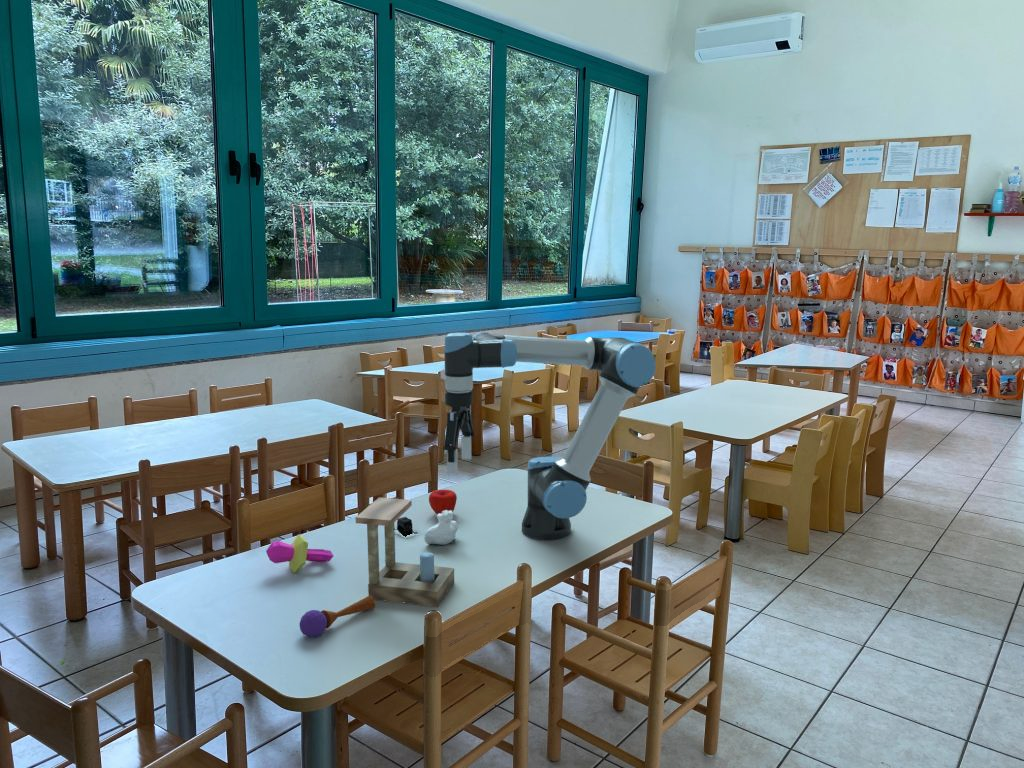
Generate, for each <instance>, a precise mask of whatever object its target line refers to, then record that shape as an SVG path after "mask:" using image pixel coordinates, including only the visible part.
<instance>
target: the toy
mask: <svg viewBox="0 0 1024 768" xmlns="http://www.w3.org/2000/svg"><path fill="white" fill-rule="evenodd" d="M295 537H296V538H294V540H293V541H292V543H291V544H289V543H286V542H283V541H280V540H276V541H273V542H271V543H270V545H269V546H268V548H267V549H266V550H265V552H266V554H267V555H266V556H267V557H268V559H269V561H270V562H272V563H273V564H280V563H281V564H282V563H286V562H287V563H288V567H289V566H290V567H289V568H290V569H291V571H292V572H293V574H297V573H300V571H301V570H302V569H303V568H304V566H305V565H306V563H307V562H313V563H314V562H315V563H326V562H330V561H331V560H332V558H333V557H334V554H333V553H332V551H331V550H328V549H325V548H324V549H322V548H320V549H319V548H309V547H308V546H309V542H308V541H307V540H306V538H305V537H304V536H303V535H302V534H301V535H300V534H297V536H295Z"/></svg>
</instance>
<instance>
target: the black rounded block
mask: <svg viewBox="0 0 1024 768" xmlns="http://www.w3.org/2000/svg"><path fill="white" fill-rule="evenodd" d="M396 528H397V529H395V531H397V532H399V533H401V534H402V535H403V536H405V537H406V536H407V535H410V534H413V533H414V534H417V533H416V532H417V531H416V532H414V531H415V530H414V529H413V521H412V519H410V518H408V517H407V516H404V517H399V518H398V519H397V520H396ZM413 530H414V531H413Z"/></svg>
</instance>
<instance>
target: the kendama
mask: <svg viewBox="0 0 1024 768" xmlns="http://www.w3.org/2000/svg"><path fill="white" fill-rule="evenodd" d="M373 608H374V609H375V608H376V600H374V598H373V597H372V596H369V595H368V596H366V597H364V598H362V599H360V600H358V601H356V602H354V603H352V604H350V605H349V606H347V607H344V608H343V609H341V610H338V611H337V612H336V611H329V610H325V609H324V610H321V611H320V610H317V609H312V610H309V611H306V612H305V613H304V614H303V615H302V616H301V618H300V621H299V630H300V632H301V633H302V635H304V636H305V637H307V638H311V637H314V638H318V637H319V636H321V635H322V634H323V633H324V632H325V631H326V629H329V628H330V627H331V626H332V625H333V624H334V622H335V621H336V620H337V619H338V618H339V617H345V616H350V615H353V614H358V613H363V612H366V611H367V612H368V611H370V609H371V610H374V609H373Z"/></svg>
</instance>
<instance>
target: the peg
mask: <svg viewBox="0 0 1024 768" xmlns="http://www.w3.org/2000/svg"><path fill="white" fill-rule="evenodd" d="M419 565H420V581H421V582H431V583H434V581H435V579H434V566H435V554H434V553H432V552H422V553H420V554H419Z"/></svg>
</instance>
